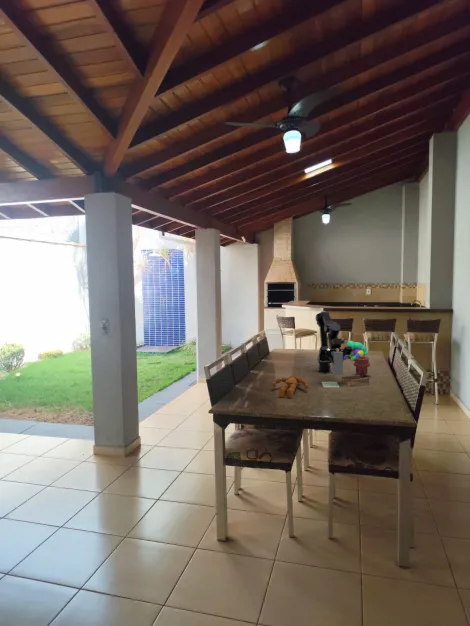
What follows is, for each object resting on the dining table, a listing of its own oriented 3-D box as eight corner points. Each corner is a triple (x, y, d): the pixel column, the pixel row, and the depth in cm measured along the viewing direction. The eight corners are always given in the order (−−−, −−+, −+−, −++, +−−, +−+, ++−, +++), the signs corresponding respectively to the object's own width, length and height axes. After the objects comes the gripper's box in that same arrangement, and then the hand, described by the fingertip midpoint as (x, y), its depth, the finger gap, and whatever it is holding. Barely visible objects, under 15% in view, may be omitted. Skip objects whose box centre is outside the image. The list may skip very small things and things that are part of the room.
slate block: (331, 372, 244) (332, 347, 242) (340, 372, 244) (340, 347, 242) (333, 374, 239) (334, 349, 237) (342, 374, 239) (342, 349, 237)
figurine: (346, 363, 308) (372, 359, 308) (343, 344, 307) (370, 340, 307) (339, 358, 327) (365, 354, 326) (337, 340, 325) (362, 336, 325)
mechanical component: (368, 374, 267) (370, 378, 257) (352, 373, 269) (354, 377, 259) (369, 355, 265) (371, 358, 256) (353, 354, 267) (354, 358, 258)
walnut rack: (342, 383, 246) (342, 376, 246) (358, 381, 250) (359, 374, 250) (351, 386, 237) (351, 380, 237) (368, 384, 241) (369, 378, 241)
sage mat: (321, 382, 248) (321, 381, 248) (336, 382, 247) (336, 381, 247) (323, 387, 237) (323, 387, 237) (339, 387, 236) (339, 387, 236)
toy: (304, 401, 215) (312, 384, 243) (304, 389, 214) (312, 373, 242) (267, 398, 221) (278, 382, 250) (266, 386, 221) (278, 371, 249)
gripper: (320, 333, 243) (324, 355, 233) (351, 332, 243) (357, 354, 233) (317, 344, 251) (321, 366, 241) (347, 343, 252) (352, 365, 242)
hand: (337, 362), depth 239 cm, fingers closed on slate block, 5 cm apart
